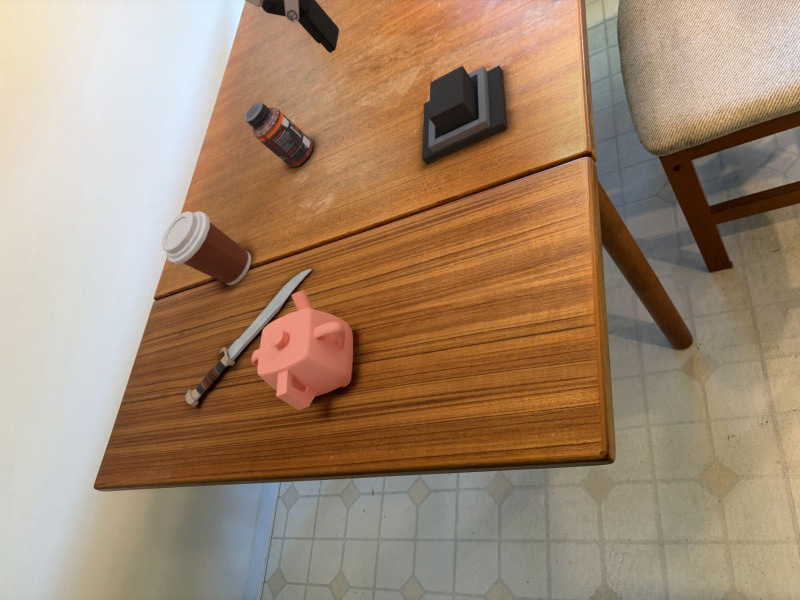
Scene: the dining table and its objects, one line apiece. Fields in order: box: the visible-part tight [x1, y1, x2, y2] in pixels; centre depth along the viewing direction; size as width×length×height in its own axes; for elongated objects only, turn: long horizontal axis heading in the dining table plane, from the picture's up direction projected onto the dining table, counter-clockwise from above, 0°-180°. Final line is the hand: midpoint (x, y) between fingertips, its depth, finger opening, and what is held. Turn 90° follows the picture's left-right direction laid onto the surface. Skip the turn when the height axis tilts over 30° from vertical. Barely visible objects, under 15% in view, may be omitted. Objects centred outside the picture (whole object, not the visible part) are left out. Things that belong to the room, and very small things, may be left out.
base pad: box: [421, 65, 508, 165], centre depth 75 cm, size 12×11×2 cm
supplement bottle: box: [244, 101, 314, 168], centre depth 93 cm, size 6×6×11 cm
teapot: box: [251, 289, 354, 411], centre depth 66 cm, size 12×12×10 cm
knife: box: [185, 268, 313, 407], centre depth 82 cm, size 27×2×5 cm
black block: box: [429, 65, 478, 135], centre depth 74 cm, size 5×7×4 cm
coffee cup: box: [161, 210, 252, 286], centre depth 89 cm, size 9×9×12 cm
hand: (376, 15), depth 49 cm, fingers open, 9 cm apart
